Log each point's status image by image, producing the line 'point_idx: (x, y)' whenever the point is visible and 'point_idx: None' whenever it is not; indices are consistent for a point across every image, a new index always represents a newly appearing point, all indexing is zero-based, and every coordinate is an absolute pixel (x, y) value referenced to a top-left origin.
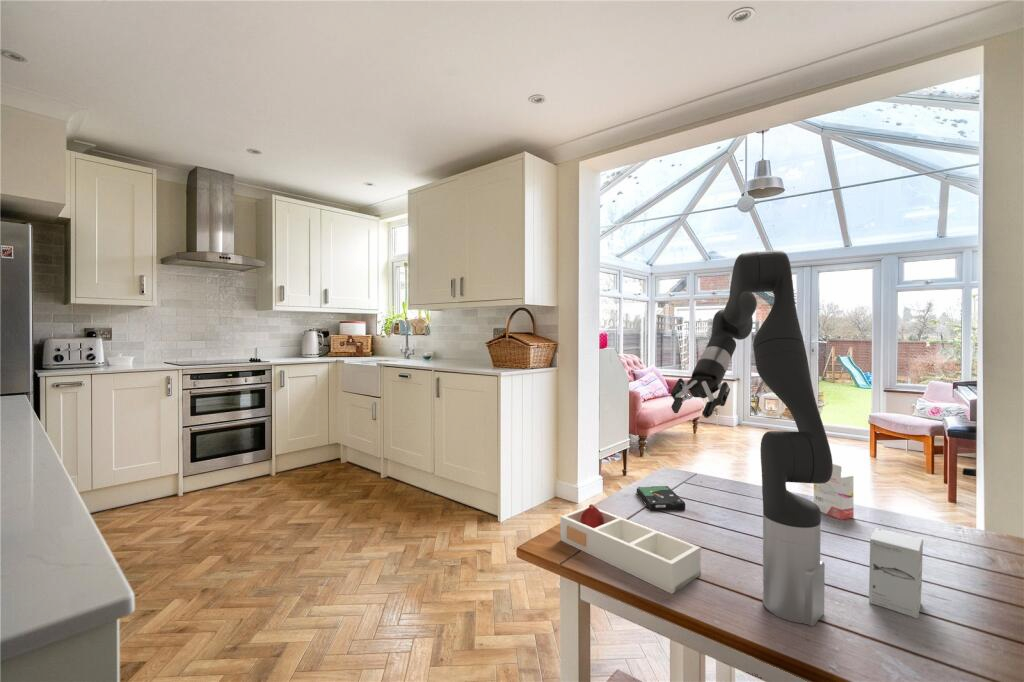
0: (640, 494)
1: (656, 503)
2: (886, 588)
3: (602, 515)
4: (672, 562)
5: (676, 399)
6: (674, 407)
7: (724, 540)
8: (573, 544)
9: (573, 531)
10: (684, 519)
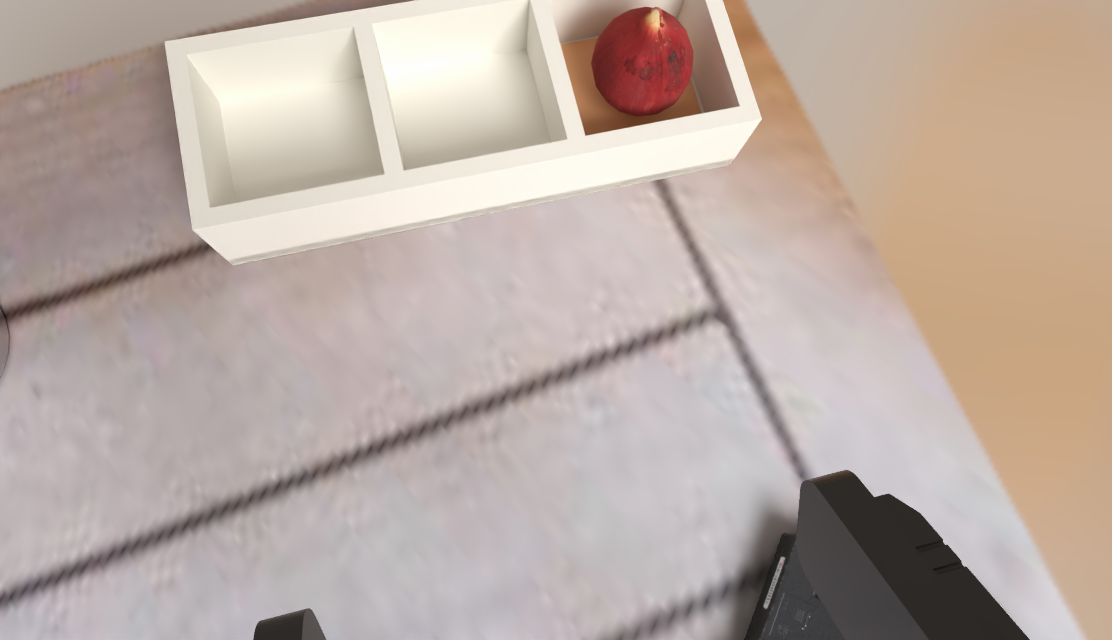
0: None
1: (788, 563)
2: None
3: (623, 80)
4: (171, 51)
5: (972, 624)
6: (821, 487)
7: (375, 592)
8: None
9: None
10: (631, 607)
